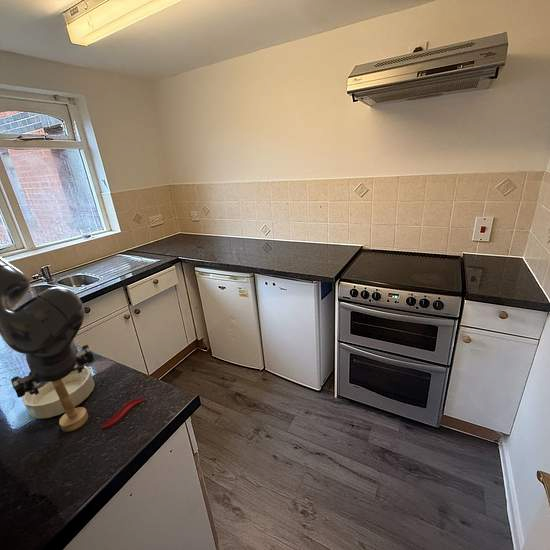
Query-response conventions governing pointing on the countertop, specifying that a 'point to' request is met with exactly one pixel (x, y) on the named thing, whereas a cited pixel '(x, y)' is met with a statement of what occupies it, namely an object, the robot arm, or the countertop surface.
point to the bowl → (48, 399)
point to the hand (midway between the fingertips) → (57, 379)
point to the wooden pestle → (69, 409)
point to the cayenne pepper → (122, 412)
